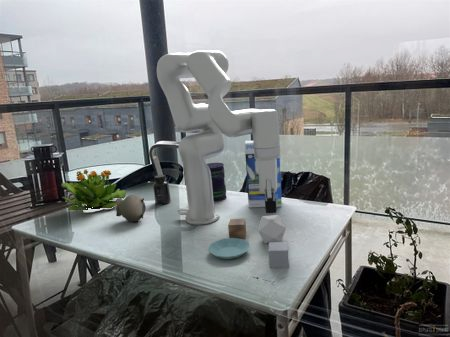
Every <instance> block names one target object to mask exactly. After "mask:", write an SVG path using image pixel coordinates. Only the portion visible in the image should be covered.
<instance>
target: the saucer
mask: <svg viewBox="0 0 450 337" xmlns="http://www.w3.org/2000/svg"><path fill="white" fill-rule="evenodd" d="M249 248H250V244H249V243H248V241H246V240H245V239H238V238H229V237H227V238H221V239H218V240H215V241H213V242H212V243H211V244H210V245H209V246H208V252H209V253H210V254H212V255H213V256H214V257H217V258H219V259H223V260H233V259H236V258H239V257H241V256H242V255H245V253H246V252H247V251H248V250H249Z"/></svg>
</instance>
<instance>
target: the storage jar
mask: <svg viewBox="0 0 450 337" xmlns="http://www.w3.org/2000/svg"><path fill="white" fill-rule="evenodd" d="M206 164H207V165H208V167H209V169H210V172H211V179H212V190H213V200H214V203H217V202H221V201H222V202H223V201H224V200H226V199H227V187H226V184H225V183H226V181H225V177H226V176H225V167H224V166H225V165H224V164H225V163H223V162H209V163H206Z"/></svg>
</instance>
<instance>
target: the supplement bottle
mask: <svg viewBox="0 0 450 337" xmlns="http://www.w3.org/2000/svg"><path fill="white" fill-rule="evenodd" d="M153 180H154V183H153V184H152V189H153V196H154V202H155V204H156V203H157V204H156V205H158V204H162V205H166V204H169V203H171V202H172V199H171V192H170V185H169V184H170V183H169V182H168V181H167V178H166V175H165V174H159V175H155V176H154V178H153Z"/></svg>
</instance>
